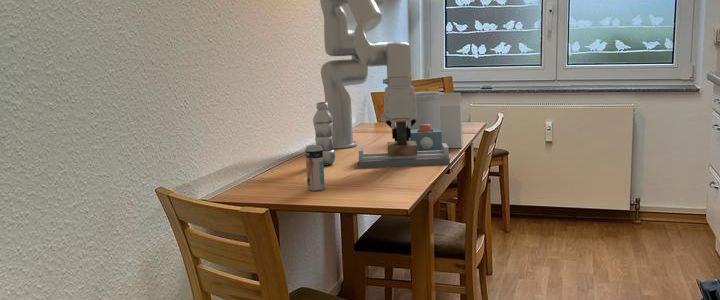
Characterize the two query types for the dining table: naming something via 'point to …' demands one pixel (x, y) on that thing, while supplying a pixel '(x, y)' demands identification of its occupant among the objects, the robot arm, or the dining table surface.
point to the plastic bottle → (324, 132)
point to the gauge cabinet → (427, 139)
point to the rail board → (404, 158)
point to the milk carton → (451, 119)
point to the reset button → (425, 128)
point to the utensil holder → (428, 109)
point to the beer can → (315, 167)
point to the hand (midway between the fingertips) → (401, 140)
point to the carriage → (401, 142)
